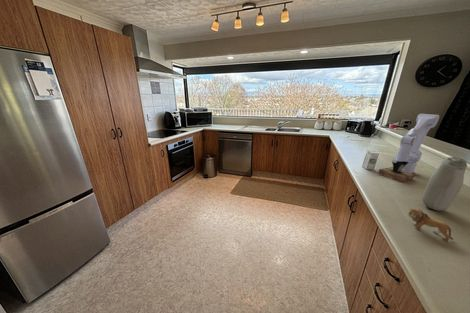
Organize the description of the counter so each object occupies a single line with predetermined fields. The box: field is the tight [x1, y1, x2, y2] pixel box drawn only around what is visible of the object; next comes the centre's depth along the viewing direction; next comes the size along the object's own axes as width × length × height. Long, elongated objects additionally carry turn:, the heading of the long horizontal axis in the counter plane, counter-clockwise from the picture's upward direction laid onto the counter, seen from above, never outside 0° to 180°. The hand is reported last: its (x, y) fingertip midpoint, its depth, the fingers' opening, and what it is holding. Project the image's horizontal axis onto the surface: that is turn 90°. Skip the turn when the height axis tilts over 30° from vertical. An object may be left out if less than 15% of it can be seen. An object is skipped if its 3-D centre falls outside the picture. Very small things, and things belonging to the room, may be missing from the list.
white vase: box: [421, 156, 468, 211], centre depth 84 cm, size 10×10×28 cm
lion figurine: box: [407, 207, 454, 242], centre depth 72 cm, size 15×5×9 cm, turn 52°
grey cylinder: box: [393, 164, 404, 174], centre depth 122 cm, size 4×4×9 cm
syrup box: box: [361, 150, 380, 171], centre depth 135 cm, size 6×6×14 cm
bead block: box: [377, 166, 415, 183], centre depth 124 cm, size 14×14×4 cm
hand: (396, 170), depth 123 cm, fingers closed on grey cylinder, 4 cm apart
